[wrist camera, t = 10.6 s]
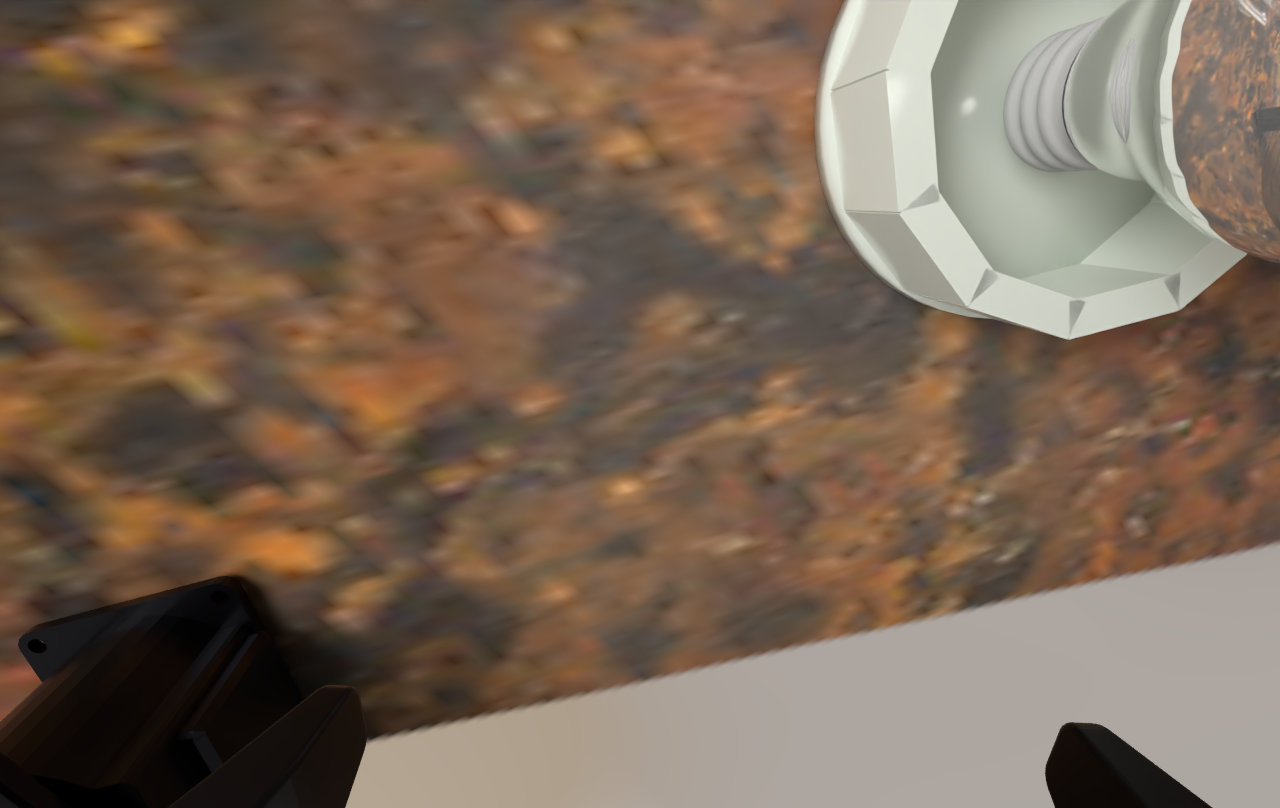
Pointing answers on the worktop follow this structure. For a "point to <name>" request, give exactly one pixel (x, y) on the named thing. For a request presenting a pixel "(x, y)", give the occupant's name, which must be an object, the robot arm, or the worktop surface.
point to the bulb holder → (986, 176)
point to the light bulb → (1165, 110)
